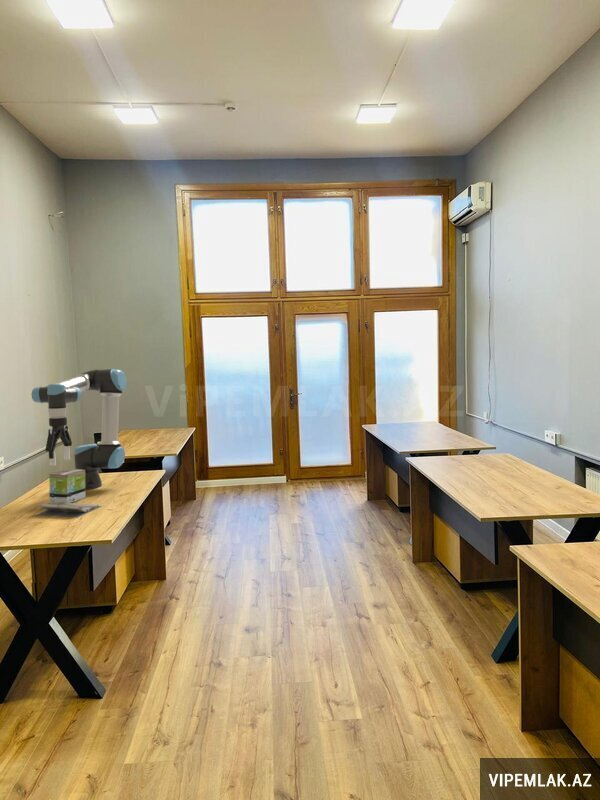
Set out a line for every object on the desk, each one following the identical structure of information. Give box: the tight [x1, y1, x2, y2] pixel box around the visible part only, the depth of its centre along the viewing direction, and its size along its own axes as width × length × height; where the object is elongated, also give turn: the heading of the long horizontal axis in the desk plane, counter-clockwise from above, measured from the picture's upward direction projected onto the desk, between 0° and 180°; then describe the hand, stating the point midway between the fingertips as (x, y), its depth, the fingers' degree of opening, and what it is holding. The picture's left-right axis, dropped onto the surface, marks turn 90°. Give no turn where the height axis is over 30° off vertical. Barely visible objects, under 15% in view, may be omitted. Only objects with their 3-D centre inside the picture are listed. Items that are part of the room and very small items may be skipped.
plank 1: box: [37, 502, 66, 511], centre depth 240 cm, size 8×10×1 cm
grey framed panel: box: [35, 505, 103, 519], centre depth 244 cm, size 19×22×1 cm
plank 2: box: [57, 505, 87, 512], centre depth 238 cm, size 8×10×1 cm
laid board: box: [57, 502, 99, 513], centre depth 247 cm, size 8×20×1 cm, turn 77°
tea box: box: [49, 468, 86, 504], centre depth 261 cm, size 15×10×15 cm, turn 168°
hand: (60, 462), depth 247 cm, fingers open, 13 cm apart
